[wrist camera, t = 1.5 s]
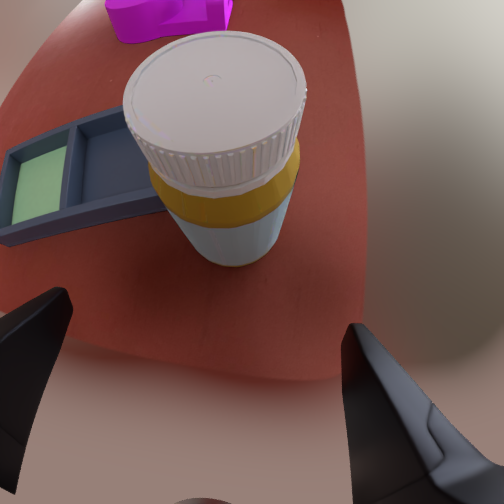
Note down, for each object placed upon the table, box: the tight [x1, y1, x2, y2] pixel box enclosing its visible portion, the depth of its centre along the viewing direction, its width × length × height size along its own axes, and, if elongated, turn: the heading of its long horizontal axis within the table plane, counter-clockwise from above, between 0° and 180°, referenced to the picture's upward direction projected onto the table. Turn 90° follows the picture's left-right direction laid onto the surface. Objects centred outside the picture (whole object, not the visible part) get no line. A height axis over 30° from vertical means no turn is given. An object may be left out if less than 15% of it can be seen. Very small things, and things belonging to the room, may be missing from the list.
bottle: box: [123, 31, 307, 267], centre depth 16 cm, size 7×7×15 cm
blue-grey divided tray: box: [0, 105, 167, 247], centre depth 22 cm, size 10×19×3 cm, turn 99°
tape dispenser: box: [105, 0, 233, 43], centre depth 27 cm, size 16×10×6 cm, turn 87°
